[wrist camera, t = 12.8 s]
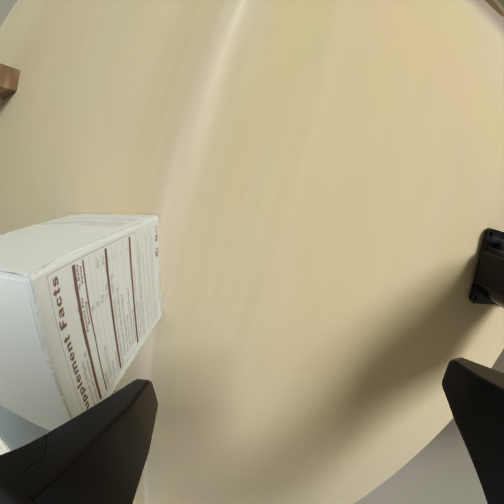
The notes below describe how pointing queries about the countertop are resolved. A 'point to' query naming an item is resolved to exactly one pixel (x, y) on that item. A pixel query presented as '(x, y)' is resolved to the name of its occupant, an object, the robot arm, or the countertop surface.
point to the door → (18, 429)
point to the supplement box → (74, 311)
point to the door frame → (8, 80)
